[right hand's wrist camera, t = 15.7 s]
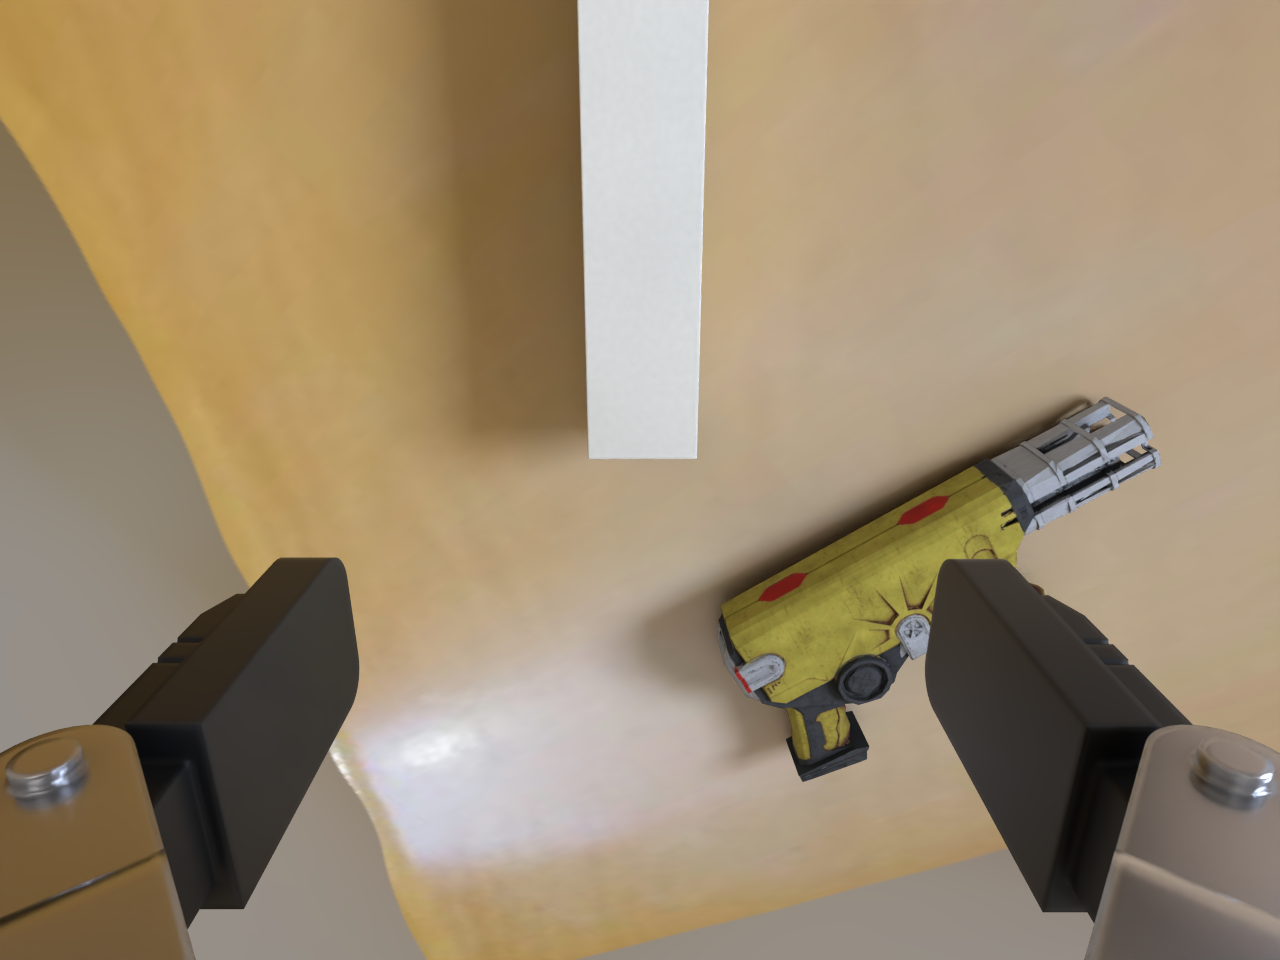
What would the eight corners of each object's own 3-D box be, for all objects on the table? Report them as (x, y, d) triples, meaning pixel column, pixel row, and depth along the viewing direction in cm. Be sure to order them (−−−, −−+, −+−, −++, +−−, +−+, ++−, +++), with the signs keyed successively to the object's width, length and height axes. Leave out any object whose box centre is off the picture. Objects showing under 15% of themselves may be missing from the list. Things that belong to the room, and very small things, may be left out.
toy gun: (1224, 634, 45) (1152, 417, 39) (832, 829, 48) (710, 655, 42) (1166, 589, 49) (1093, 386, 43) (809, 770, 52) (696, 605, 46)
